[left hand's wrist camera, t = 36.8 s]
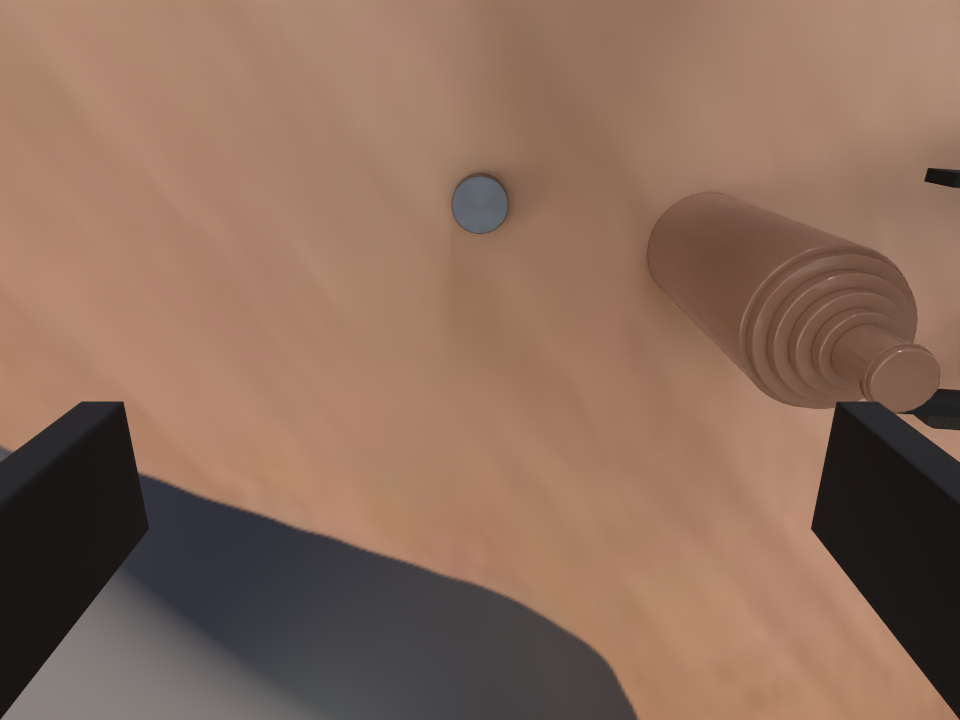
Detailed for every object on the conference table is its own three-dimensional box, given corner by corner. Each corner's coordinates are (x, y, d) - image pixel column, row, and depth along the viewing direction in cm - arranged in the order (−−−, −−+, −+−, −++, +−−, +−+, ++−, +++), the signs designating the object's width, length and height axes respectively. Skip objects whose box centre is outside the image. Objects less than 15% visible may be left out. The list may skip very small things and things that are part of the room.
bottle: (634, 291, 51) (768, 455, 27) (665, 182, 48) (846, 257, 24) (738, 312, 51) (957, 490, 28) (775, 205, 48) (1055, 301, 25)
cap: (508, 226, 49) (509, 232, 47) (455, 229, 49) (453, 235, 47) (505, 171, 48) (506, 174, 45) (451, 174, 48) (449, 178, 45)
